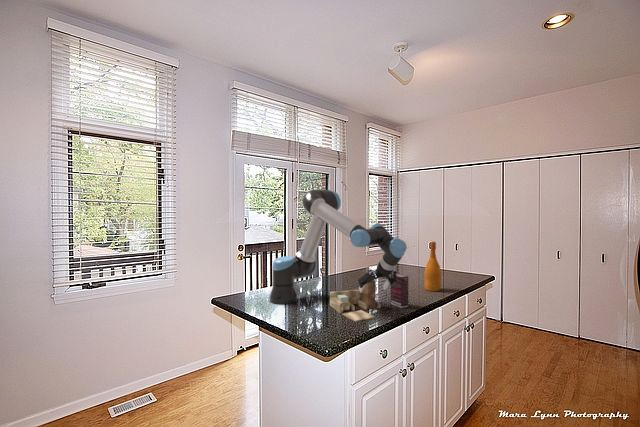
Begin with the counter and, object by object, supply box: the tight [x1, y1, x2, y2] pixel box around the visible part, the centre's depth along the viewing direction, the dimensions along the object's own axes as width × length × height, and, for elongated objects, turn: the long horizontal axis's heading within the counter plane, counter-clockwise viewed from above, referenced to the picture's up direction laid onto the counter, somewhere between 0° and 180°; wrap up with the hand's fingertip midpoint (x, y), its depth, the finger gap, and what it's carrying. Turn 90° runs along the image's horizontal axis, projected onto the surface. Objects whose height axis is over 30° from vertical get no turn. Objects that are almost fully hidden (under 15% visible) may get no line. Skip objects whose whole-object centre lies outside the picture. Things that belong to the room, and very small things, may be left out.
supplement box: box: [390, 273, 409, 309], centre depth 177 cm, size 9×5×16 cm, turn 29°
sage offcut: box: [337, 295, 348, 304], centre depth 172 cm, size 4×5×3 cm
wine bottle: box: [423, 241, 442, 292], centre depth 211 cm, size 10×10×30 cm
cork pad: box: [341, 309, 376, 322], centre depth 160 cm, size 11×11×1 cm
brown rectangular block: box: [361, 279, 377, 310], centre depth 176 cm, size 4×8×14 cm, turn 18°
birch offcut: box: [343, 303, 351, 312], centre depth 172 cm, size 4×7×4 cm, turn 17°
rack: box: [329, 289, 381, 314], centre depth 174 cm, size 24×14×7 cm, turn 108°
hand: (372, 289), depth 173 cm, fingers open, 13 cm apart
